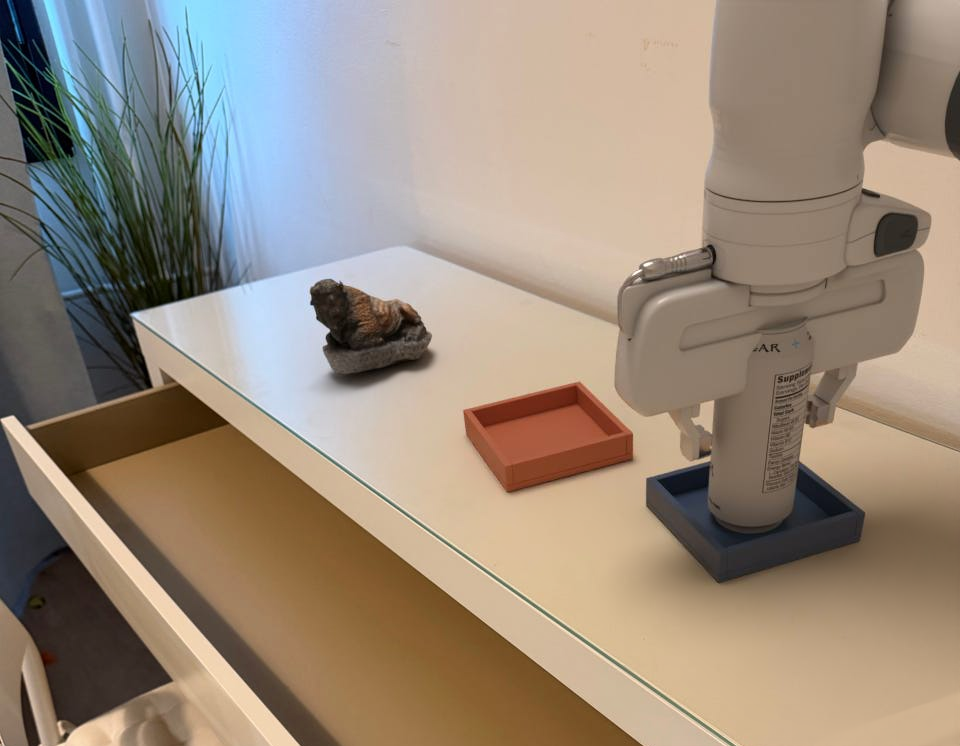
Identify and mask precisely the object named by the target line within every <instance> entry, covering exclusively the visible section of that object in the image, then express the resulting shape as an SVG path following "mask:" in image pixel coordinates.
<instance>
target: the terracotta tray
mask: <svg viewBox="0 0 960 746" xmlns="http://www.w3.org/2000/svg"><path fill="white" fill-rule="evenodd" d="M462 413H463V421H464V428H465V435H466V436H467V437H468V439H469V440H470V441H471V443H472V445H473V446H474V448H475V449H476V450H477V452H478V453H479V454H480V456H481V457H482V458H483V460H484V461H485V462H486V465H488V467H489V468H490V469H491V471H492V472H493V474H494V475H495V477H496V478H497V479H498V481H499V482H500V484H501V485H502V487H503V488H504V489H505V491H506V492H507V493H509V492H513V491H517V490H520V489H524V488H528V487H532V486H536V485H539V484H540V485H541V484H544V483H547V482H551V481H555V480H559V479H563V478H566V477H569V476H573V475H577V474H581V473H585V472H589V471H592V470H597V469H600V468H603V467H607V466H611V465H615V464H619V463H622V462H626V461H630V460H633V459H634V432H632V431H631V430H630V429H629V427H627V425H625V424H624V423H623V422H622V421H621V420H620V419H619V418H618V417H617V416H616V415H615V414H614V413H613V412H612V411H611V410H610V409H609V408H608V407H606V405H605V404H603V402H601V401H600V400H599V398H597V397H596V396H595V394H593V393H592V392H591V391H590V390H589V389H588V388H587V387H586V386H585V384H583V383H582V382H581V381H576V382H571V383H566V384H564V385H563V384H562V385H559V386H555V387H551V388H547V389H543V390H539V391H535V392H531V393H527V394H526V393H525V394H522V395H519V396H514V397H511V398H507V399H502V400H498V401H493V402H490V403H486V404H482V405H478V406H473V407H470V408H465V409H463V410H462Z"/></svg>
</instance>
